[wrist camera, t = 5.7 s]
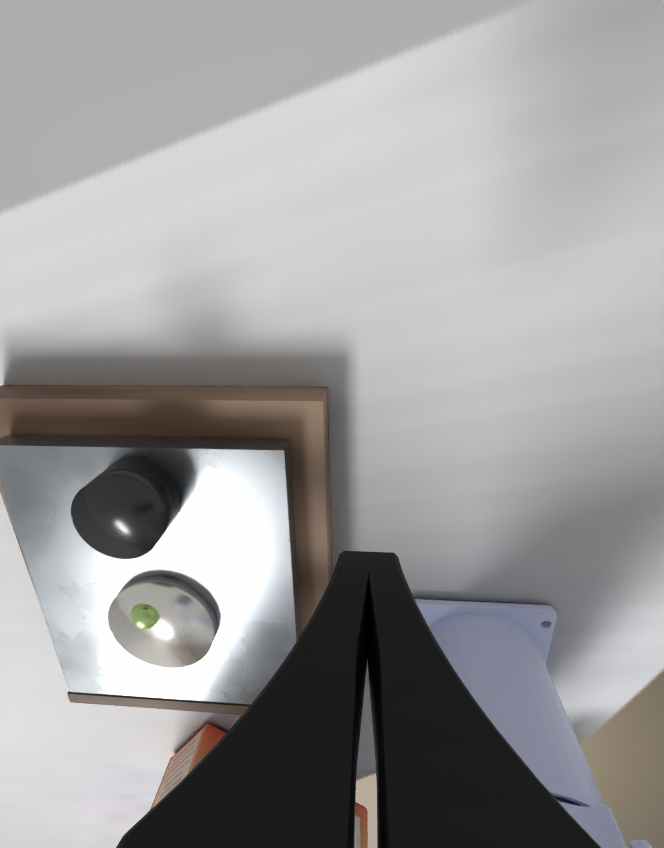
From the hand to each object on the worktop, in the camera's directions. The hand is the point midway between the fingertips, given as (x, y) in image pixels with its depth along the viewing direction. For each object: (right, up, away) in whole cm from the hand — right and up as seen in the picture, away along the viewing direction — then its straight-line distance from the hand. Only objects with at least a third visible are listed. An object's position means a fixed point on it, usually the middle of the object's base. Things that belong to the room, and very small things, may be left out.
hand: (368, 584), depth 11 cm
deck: (-9, -4, +11) cm, 15 cm away
